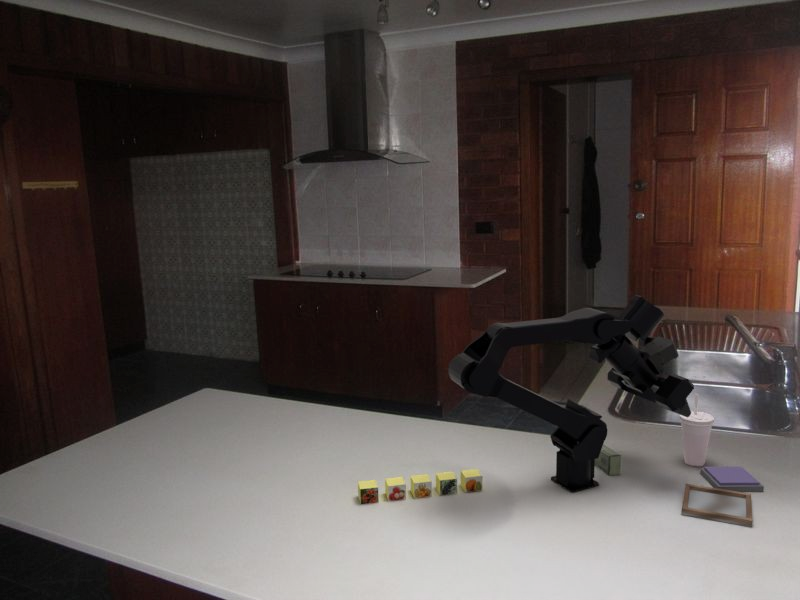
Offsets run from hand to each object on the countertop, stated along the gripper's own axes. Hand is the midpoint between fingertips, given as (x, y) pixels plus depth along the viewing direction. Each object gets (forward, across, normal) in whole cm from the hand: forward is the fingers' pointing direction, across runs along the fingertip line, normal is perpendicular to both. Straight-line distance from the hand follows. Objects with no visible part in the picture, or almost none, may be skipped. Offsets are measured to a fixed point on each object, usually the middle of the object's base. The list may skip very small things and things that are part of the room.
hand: (672, 407), depth 130 cm
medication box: (+1, +7, +17) cm, 18 cm away
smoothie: (+13, 0, +5) cm, 14 cm away
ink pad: (+13, -10, +4) cm, 16 cm away
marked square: (+6, -16, +11) cm, 21 cm away
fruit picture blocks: (-26, +4, +44) cm, 51 cm away
